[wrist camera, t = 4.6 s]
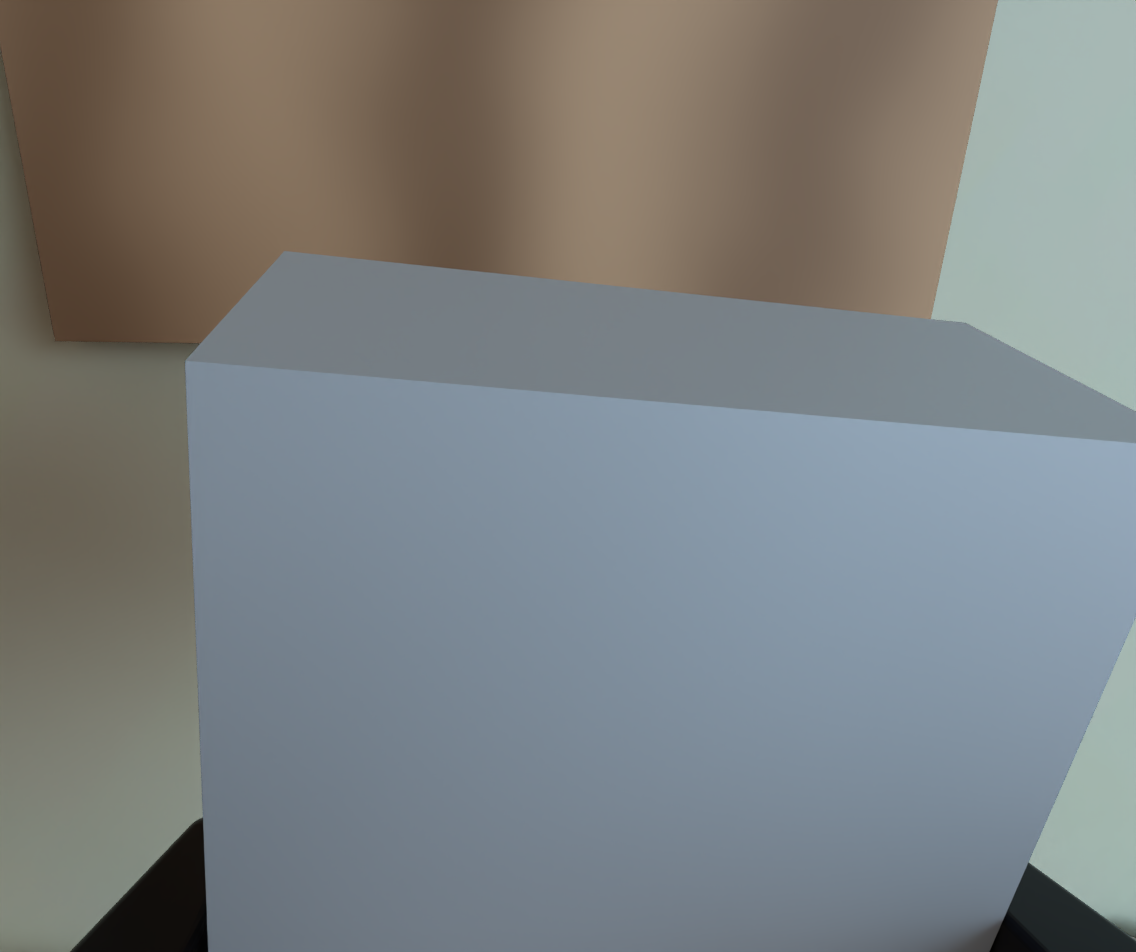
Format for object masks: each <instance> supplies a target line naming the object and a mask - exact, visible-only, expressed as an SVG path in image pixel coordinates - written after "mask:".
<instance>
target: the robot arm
mask: <svg viewBox="0 0 1136 952" xmlns="http://www.w3.org/2000/svg"><path fill="white" fill-rule="evenodd" d="M70 952H208V931H207V906H206V881H205V855H204V830H203V818H200V819H198V820H197V821H195V822H194V823H193V824H191V825H190V826H189V828H188V829H187V830H186V831H185V832H184V833H183V834H182V835H181V836H180V837H179V838H178V839H177V840H176V841H175V842H174V843H173V844H172V845H171V846H170V847H169V849H168V850H167V851H166V852H165V853H164V854H163V855H162V856H161V857H160V858H159V859H158V860H157V861H156V862H155V863H154V864H153V865H152V866H151V867H150V868H149V870H148V871H147V872H146V873H145V874H144V875H143V876H142V877H141V878H140V879H139V880H138V881H137V882H136V883H135V884H134V885H133V886H132V887H131V888H130V889H129V890H128V892H127V893H126V894H125V895H124V896H123V897H122V898H121V899H120V900H119V901H118V902H117V903H116V904H115V905H114V906H113V907H112V908H111V909H110V910H109V911H108V913H107V914H106V915H105V916H104V917H103V918H102V919H101V920H100V921H99V922H98V923H97V924H96V925H95V926H94V927H93V928H92V929H91V930H90V931H89V932H88V934H87V935H86V936H85V937H84V938H83V939H82V940H81V941H80V942H79V943H78V944H77V945H76V946H75V947H74V948H73V949H72V950H71V951H70ZM989 952H1136V940H1135V939H1133V938H1132V937H1130V936H1129V935H1128V934H1126V933H1125V932H1124V931H1122V930H1121V929H1119V928H1118V927H1117V926H1115V925H1114V924H1113V923H1111V922H1110V921H1108V920H1107V919H1106V918H1104V917H1103V916H1102V915H1100V914H1099V913H1097V912H1096V911H1095V910H1093V909H1092V908H1091V907H1089V906H1088V905H1086V904H1085V903H1084V902H1082V901H1081V900H1080V899H1078V898H1077V897H1075V896H1074V895H1073V894H1071V893H1070V892H1069V891H1067V890H1066V889H1064V888H1063V887H1062V886H1060V885H1059V884H1058V883H1056V882H1055V881H1053V880H1052V879H1051V878H1049V877H1048V876H1047V875H1045V874H1044V873H1042V872H1041V871H1040V870H1038V869H1037V868H1035V867H1034V866H1033V865H1031V864H1030V863H1029V862H1028V864H1027V867H1026V869H1025V871H1024V873H1023V876H1022V878H1021V880H1020V883H1019V885H1018V887H1017V889H1016V892H1015V894H1014V896H1013V899H1012V901H1011V903H1010V905H1009V908H1008V910H1007V912H1006V915H1005V917H1004V919H1003V921H1002V924H1001V926H1000V928H999V931H998V933H997V935H996V937H995V940H994V942H993V944H992V947H991V949H990V951H989Z"/></svg>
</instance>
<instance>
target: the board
mask: <svg viewBox="0 0 1136 952" xmlns="http://www.w3.org/2000/svg"><path fill="white" fill-rule="evenodd" d="M997 2H998V0H0V47H1V52H2V58H3V63H4V69H5V74H6V79H7V85H8V90H9V96H10V101H11V106H12V112H13V117H14V123H15V128H16V133H17V139H18V144H19V150H20V155H21V160H22V166H23V171H24V177H25V182H26V187H27V193H28V198H29V203H30V209H31V214H32V220H33V225H34V230H35V236H36V241H37V247H38V252H39V257H40V263H41V268H42V274H43V279H44V284H45V290H46V295H47V301H48V306H49V311H50V317H51V322H52V327H53V333H54V338H55V341H83V342H153V343H201V342H202V341H203V340H204V339H205V338H206V337H207V336H208V335H209V334H210V333H211V331H212V330H213V329H214V328H215V327H216V326H217V325H218V324H219V323H220V321H221V320H222V319H223V318H224V317H225V316H226V315H227V314H228V313H229V312H230V310H231V309H232V308H233V307H234V306H235V305H236V304H237V303H238V302H239V301H240V299H241V298H242V297H243V296H244V295H245V294H246V293H247V292H248V291H249V290H250V288H251V287H252V286H253V285H254V284H255V283H256V282H257V281H258V280H259V278H260V277H261V276H262V275H263V274H264V273H265V272H266V271H267V270H268V269H269V267H270V266H271V265H272V264H273V263H274V262H275V261H276V260H277V259H278V258H279V256H280V255H281V254H282V253H283V252H284V251H289V252H299V253H308V254H317V255H327V256H336V257H346V258H355V259H365V260H374V261H384V262H393V263H403V264H412V265H422V266H431V267H441V268H450V269H460V270H469V271H479V272H488V273H497V274H507V275H516V276H526V277H535V278H545V279H554V280H564V281H573V282H583V283H592V284H602V285H611V286H621V287H630V288H640V289H649V290H659V291H668V292H677V293H687V294H696V295H706V296H715V297H725V298H734V299H744V300H753V301H763V302H772V303H782V304H791V305H801V306H810V307H820V308H829V309H839V310H848V311H857V312H867V313H876V314H886V315H895V316H905V317H914V318H924V319H931V315H932V310H933V305H934V301H935V296H936V291H937V287H938V282H939V277H940V272H941V268H942V263H943V258H944V253H945V249H946V244H947V239H948V234H949V230H950V225H951V220H952V215H953V211H954V206H955V201H956V196H957V192H958V187H959V182H960V177H961V173H962V168H963V163H964V158H965V154H966V149H967V144H968V140H969V135H970V130H971V125H972V121H973V116H974V111H975V106H976V102H977V97H978V92H979V87H980V83H981V78H982V73H983V68H984V64H985V59H986V54H987V49H988V45H989V40H990V35H991V30H992V26H993V21H994V16H995V12H996V7H997Z"/></svg>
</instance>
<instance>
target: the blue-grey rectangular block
mask: <svg viewBox="0 0 1136 952" xmlns="http://www.w3.org/2000/svg"><path fill="white" fill-rule="evenodd" d="M185 374H186V400H187V425H188V450H189V476H190V501H191V526H192V552H193V577H194V602H195V628H196V653H197V678H198V703H199V729H200V754H201V779H202V805H203V830H204V855H205V881H206V906H207V931H208V952H989V951H990V949H991V947H992V944H993V942H994V940H995V937H996V935H997V933H998V931H999V928H1000V926H1001V924H1002V921H1003V919H1004V917H1005V915H1006V912H1007V910H1008V908H1009V905H1010V903H1011V901H1012V899H1013V896H1014V894H1015V892H1016V889H1017V887H1018V885H1019V883H1020V880H1021V878H1022V876H1023V873H1024V871H1025V869H1026V867H1027V864H1028V862H1029V860H1030V857H1031V855H1032V853H1033V851H1034V848H1035V846H1036V844H1037V841H1038V839H1039V837H1040V835H1041V832H1042V830H1043V828H1044V825H1045V823H1046V821H1047V819H1048V816H1049V814H1050V812H1051V809H1052V807H1053V805H1054V803H1055V800H1056V798H1057V796H1058V793H1059V791H1060V789H1061V787H1062V784H1063V782H1064V780H1065V777H1066V775H1067V773H1068V771H1069V768H1070V766H1071V764H1072V761H1073V759H1074V757H1075V755H1076V752H1077V750H1078V748H1079V745H1080V743H1081V741H1082V739H1083V736H1084V734H1085V732H1086V729H1087V727H1088V725H1089V723H1090V720H1091V718H1092V716H1093V713H1094V711H1095V709H1096V707H1097V704H1098V702H1099V700H1100V697H1101V695H1102V693H1103V691H1104V688H1105V686H1106V684H1107V681H1108V679H1109V677H1110V675H1111V672H1112V670H1113V668H1114V665H1115V663H1116V661H1117V659H1118V656H1119V654H1120V652H1121V649H1122V647H1123V645H1124V643H1125V640H1126V638H1127V636H1128V633H1129V631H1130V629H1131V627H1132V624H1133V622H1134V620H1135V617H1136V411H1134V410H1132V409H1130V408H1128V407H1126V406H1124V405H1122V404H1120V403H1118V402H1116V401H1115V400H1113V399H1111V398H1109V397H1107V396H1105V395H1103V394H1101V393H1099V392H1097V391H1095V390H1093V389H1091V388H1090V387H1088V386H1086V385H1084V384H1082V383H1080V382H1078V381H1076V380H1074V379H1072V378H1070V377H1068V376H1067V375H1065V374H1063V373H1061V372H1059V371H1057V370H1055V369H1053V368H1051V367H1049V366H1047V365H1045V364H1044V363H1042V362H1040V361H1038V360H1036V359H1034V358H1032V357H1030V356H1028V355H1026V354H1024V353H1022V352H1020V351H1019V350H1017V349H1015V348H1013V347H1011V346H1009V345H1007V344H1005V343H1003V342H1001V341H999V340H997V339H996V338H994V337H992V336H990V335H988V334H986V333H984V332H982V331H980V330H978V329H976V328H974V327H973V326H971V325H969V324H967V323H962V322H952V321H943V320H933V319H924V318H914V317H905V316H895V315H886V314H876V313H867V312H857V311H848V310H839V309H829V308H820V307H810V306H801V305H791V304H782V303H772V302H763V301H753V300H744V299H734V298H725V297H715V296H706V295H696V294H687V293H677V292H668V291H659V290H649V289H640V288H630V287H621V286H611V285H602V284H592V283H583V282H573V281H564V280H554V279H545V278H535V277H526V276H516V275H507V274H497V273H488V272H479V271H469V270H460V269H450V268H441V267H431V266H422V265H412V264H403V263H393V262H384V261H374V260H365V259H355V258H346V257H336V256H327V255H317V254H308V253H299V252H289V251H284V252H283V253H282V254H281V255H280V256H279V258H278V259H277V260H276V261H275V262H274V263H273V264H272V265H271V266H270V267H269V269H268V270H267V271H266V272H265V273H264V274H263V275H262V276H261V277H260V278H259V280H258V281H257V282H256V283H255V284H254V285H253V286H252V287H251V288H250V290H249V291H248V292H247V293H246V294H245V295H244V296H243V297H242V298H241V299H240V301H239V302H238V303H237V304H236V305H235V306H234V307H233V308H232V309H231V310H230V312H229V313H228V314H227V315H226V316H225V317H224V318H223V319H222V320H221V321H220V323H219V324H218V325H217V326H216V327H215V328H214V329H213V330H212V331H211V333H210V334H209V335H208V336H207V337H206V338H205V339H204V340H203V341H202V342H201V344H200V345H199V346H198V347H197V348H196V349H195V350H194V351H193V352H192V353H191V355H190V356H189V357H188V358H187V359H186V360H185Z"/></svg>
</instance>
